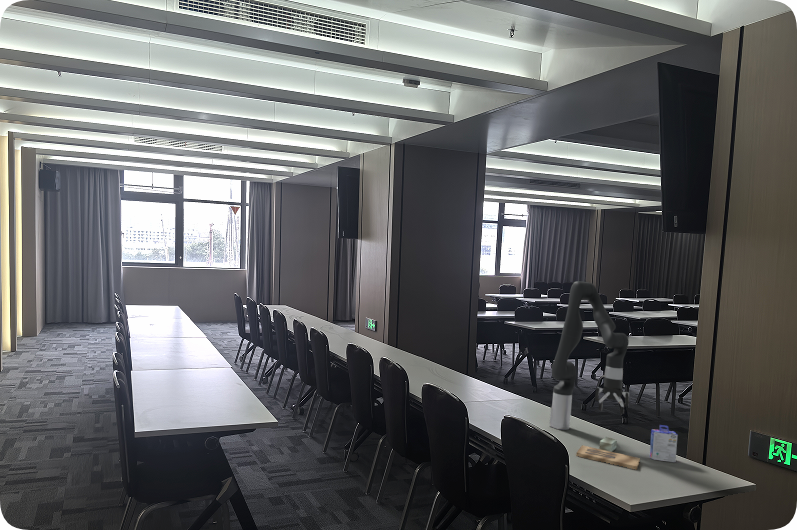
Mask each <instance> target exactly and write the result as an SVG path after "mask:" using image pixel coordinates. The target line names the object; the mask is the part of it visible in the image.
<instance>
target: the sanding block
mask: <svg viewBox="0 0 797 530" xmlns="http://www.w3.org/2000/svg"><path fill="white" fill-rule="evenodd" d="M617 444H618V439H616V438H611V437H608V436H605V437H603V438H602V439H601V440H599V448H598V449H601V450H605V451H610V452H615V451H616V450H617V446H618V445H617ZM615 449H616V450H615ZM614 450H615V451H614Z"/></svg>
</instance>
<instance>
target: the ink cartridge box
mask: <svg viewBox="0 0 797 530" xmlns="http://www.w3.org/2000/svg"><path fill="white" fill-rule="evenodd" d="M650 432H651V433H650V448H649V458H651V460H655V461H662V462H663V461H664V462H667V463H676V462H677V461H676V460H677V448H678V447H677V445H678V436H679V435H678V433H676V432H675V431H673V430H672V431H671V430H670V429H669V426H668V425H662V424H659V429H653V428H652V429H651V431H650Z"/></svg>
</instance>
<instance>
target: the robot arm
mask: <svg viewBox="0 0 797 530" xmlns="http://www.w3.org/2000/svg"><path fill="white" fill-rule="evenodd" d="M568 297H569V298H568V304H567V310H566V315H565V320H564V323H563V327H562V330H561V331H562V332H561V336H560V340H559V344H558V348H557V351H556V353H555V357H554V360H553V363H552V365H551V376H552V378H553V379H554V380H557V381H559V383H557V384H555V385H554V386H553V391H552V403H551V407H550V414H549V415H550V416H549V427H551V428H553V429H557V430H564V431H565V430H567V431H568V430H569V429H570V426H571V415H572V404H573V403H572V401H573V392H574V390H575V387H576V386H575V385H576V378H577V369H576V366H575V364H574V362H571V361H568V359H569V357H570V355H571V353H572V352H573V351H574V349H576V347H577V346H578V344H579V343H580V341H581V339H582V334H583V330H584V324H583V320H582V317H581V313H580V307H581V304H582V301H585V302H586V301H587V302H588V303H589V304H590V305H591V307H592V310H593V312H592V316H593V320H594V323H595V325H596V326H597V327H598V329H599V331H600V334H601V337H602V338H601V339H602V341H603V343H604V345H605V346H606V347H607V348H609V349H613V352H610V353H608V354H607V355H606V361H605V370H604V377H603V378H604V379H603V380H604V381H603V388H602V387H599V386H597V387H596V388H595V396H594V401H596V402H598V411H599V412H602V411H603V403H604V400H606V399H607V400H612V401H617V403H619V405H620V409H619V415H620V416H622V415H624V414H625V407H628V406H629V405H630V392H629V391H623V390H622V388H623V376H624V375H623V374H624V370H623V369H624V359H625V356H626V353H627V350H628V347H629V341H630V340H629V337H628V335H627V334H625V333H623V332H614V331H615V330H616V328H617V327H616V324H615V322H614V321H613V319H612V318H611V316H610V314H609V313H608V311H607V309H606V308H605V306H604V303H603V301H602V299H601V297H600V294H599V291H598V289H597V288H596V286H595V284H593V282H590V281H589V282H588V281H574V282H573V283H572V285H571V287H570V290H569V296H568ZM600 393H603V394H604V395H603V396H602V397H601V398H599V397H600ZM622 395H623V397H624V398H625V402H624V401H623V399H622V398H621V397H622Z"/></svg>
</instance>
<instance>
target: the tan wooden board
mask: <svg viewBox="0 0 797 530" xmlns="http://www.w3.org/2000/svg"><path fill="white" fill-rule="evenodd" d="M575 455H576V457H578V456H579V458H583V459H587V458H588V460H591V461H597V462H600V461H601V463H604V462H606V463H605V464H608V463H610V464H609V465H613V464H614V465H613V466H617V465H619V466H618V467H621V466H623V467H622V468H625V467H627V468H626V469H630V468H632V469H631V470H634V469H635V470H634V471H637V470H638V467H639V464H640V463H641V458H640V457H636V456H631V455H627V454H623V453H620V452H619V453H618V452H615V451H613V452H610V451H605V450H601V449H599V448H596V447H591V446H587V445H581V446H580V448H578V449H577V452H576V454H575ZM639 462H640V463H639Z"/></svg>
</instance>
